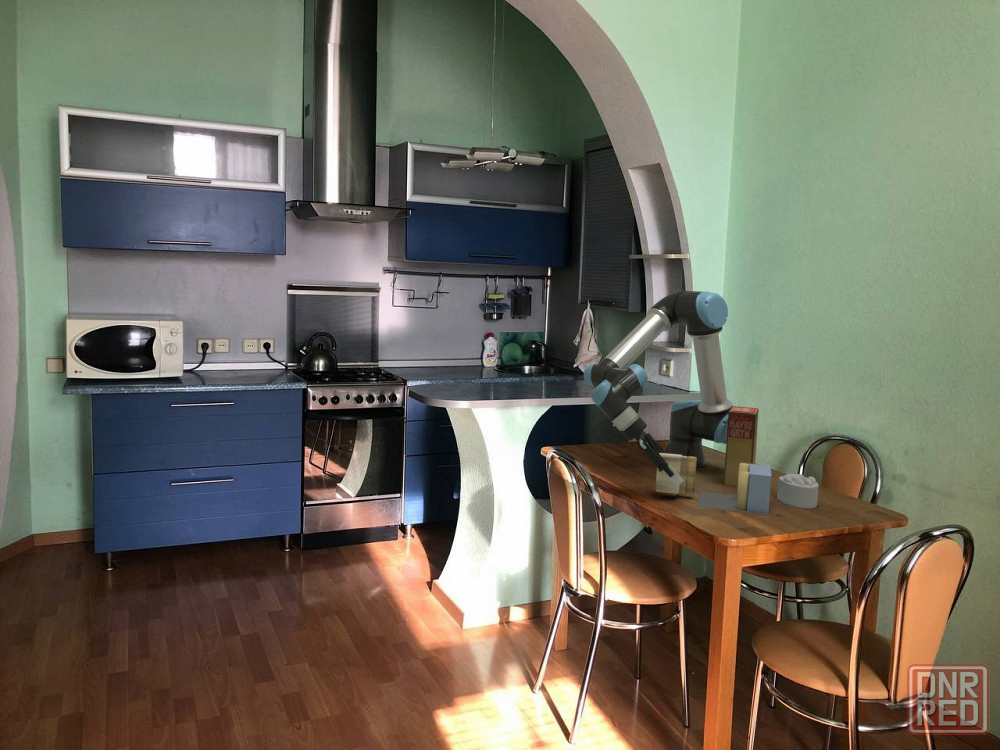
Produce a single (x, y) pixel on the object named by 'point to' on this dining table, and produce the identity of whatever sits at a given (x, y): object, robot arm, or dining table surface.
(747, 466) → the fixed leaf
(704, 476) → the dining table surface
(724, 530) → the dining table surface
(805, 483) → the lumpy-topped squat cylinder
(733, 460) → the food packaging
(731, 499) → the mat
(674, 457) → the beige block
